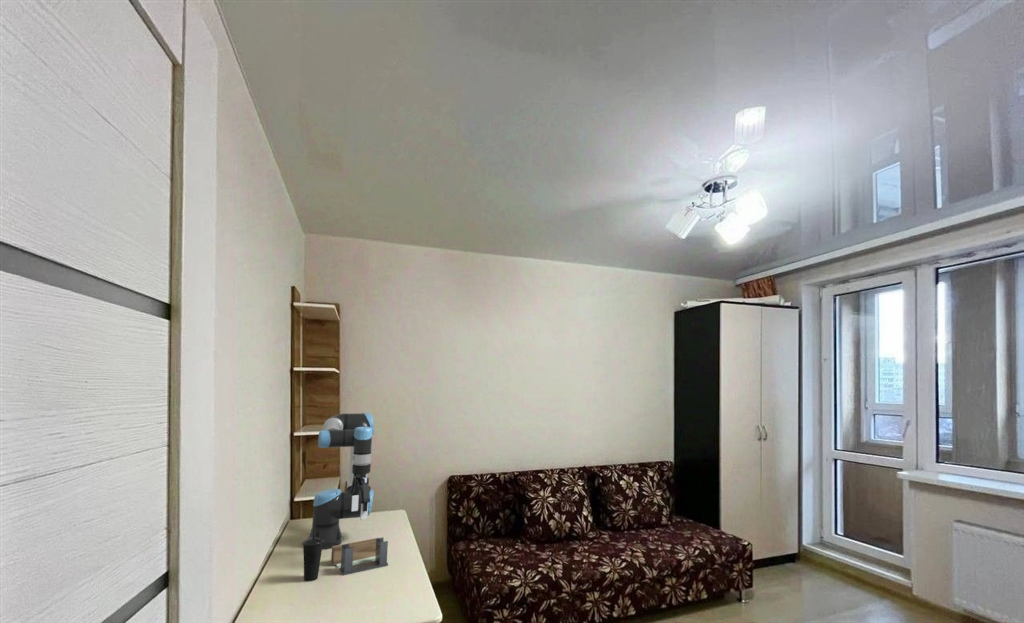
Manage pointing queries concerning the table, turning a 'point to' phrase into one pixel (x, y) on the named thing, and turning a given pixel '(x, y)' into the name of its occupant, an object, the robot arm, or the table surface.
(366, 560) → the mat
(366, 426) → the robot arm
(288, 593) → the table surface
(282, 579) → the table surface
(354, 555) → the rail
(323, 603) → the table surface
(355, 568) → the rack
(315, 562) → the drinking cup
